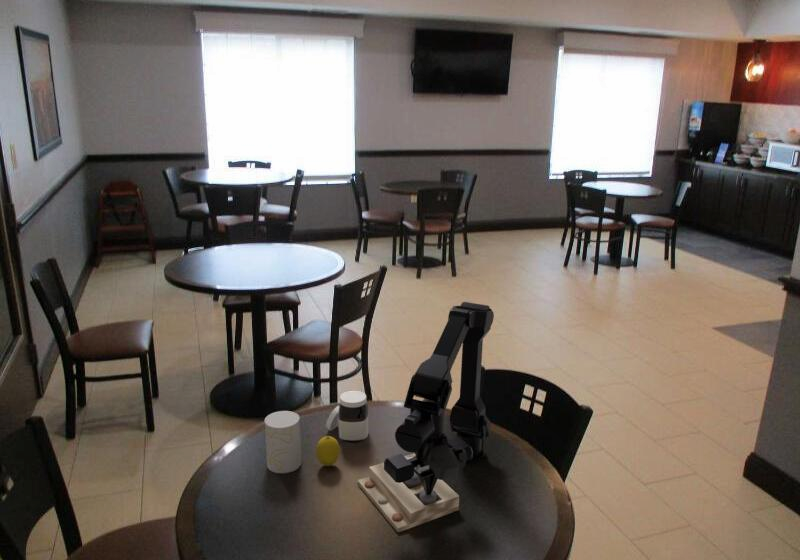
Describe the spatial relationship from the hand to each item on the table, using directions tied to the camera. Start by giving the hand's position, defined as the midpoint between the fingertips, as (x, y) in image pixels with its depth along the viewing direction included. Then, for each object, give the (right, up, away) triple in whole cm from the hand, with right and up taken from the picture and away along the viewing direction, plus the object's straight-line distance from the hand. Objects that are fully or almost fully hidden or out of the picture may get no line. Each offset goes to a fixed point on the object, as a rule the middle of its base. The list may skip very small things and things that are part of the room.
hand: (428, 493), depth 131 cm
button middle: (-3, 0, +6) cm, 7 cm away
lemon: (-23, +1, +17) cm, 29 cm away
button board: (-5, -3, +6) cm, 8 cm away
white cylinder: (-34, +1, +18) cm, 39 cm away
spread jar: (-20, +5, +31) cm, 37 cm away
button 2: (0, -2, +1) cm, 2 cm away
